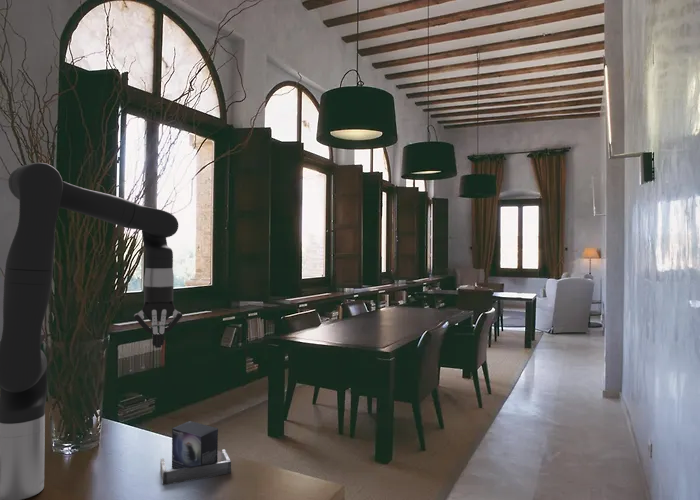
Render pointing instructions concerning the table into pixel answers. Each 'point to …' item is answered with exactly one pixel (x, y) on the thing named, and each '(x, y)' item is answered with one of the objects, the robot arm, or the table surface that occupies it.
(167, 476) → the metal bracket
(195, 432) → the small box
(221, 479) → the table surface
